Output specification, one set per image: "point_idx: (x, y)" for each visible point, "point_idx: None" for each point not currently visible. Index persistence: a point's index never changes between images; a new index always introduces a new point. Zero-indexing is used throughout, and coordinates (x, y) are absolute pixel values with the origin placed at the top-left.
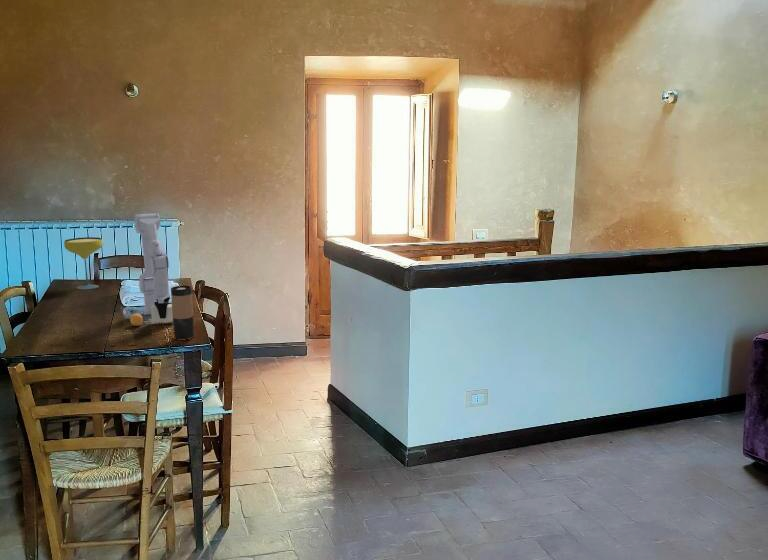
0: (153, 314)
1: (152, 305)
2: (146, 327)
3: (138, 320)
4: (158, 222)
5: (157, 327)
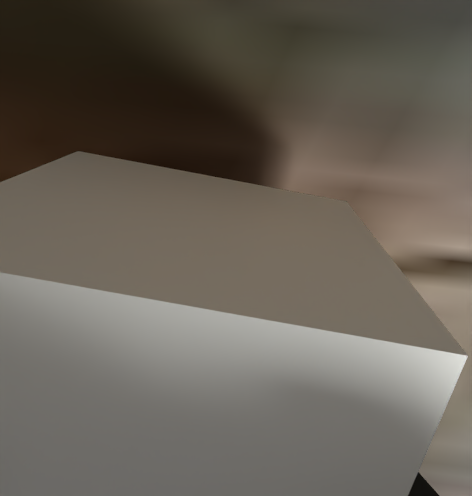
0: None
1: (431, 368)
2: (66, 37)
3: None
4: None
5: None
